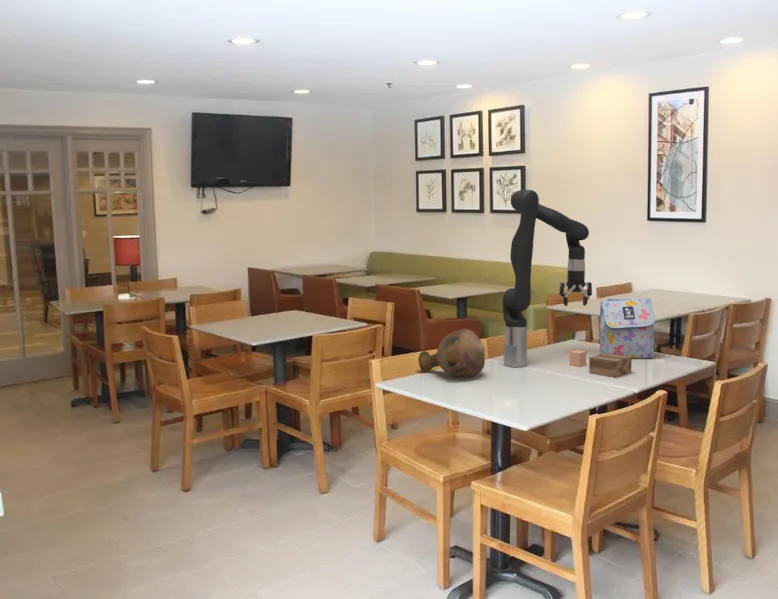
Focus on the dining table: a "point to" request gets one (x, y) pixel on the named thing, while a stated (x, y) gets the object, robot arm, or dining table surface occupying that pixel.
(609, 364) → the walnut box
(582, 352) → the terracotta block
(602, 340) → the lunch bag
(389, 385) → the dining table surface
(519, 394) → the dining table surface
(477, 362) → the jug
